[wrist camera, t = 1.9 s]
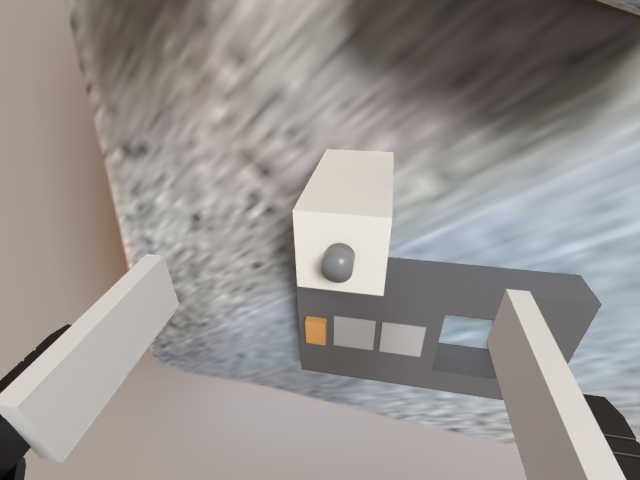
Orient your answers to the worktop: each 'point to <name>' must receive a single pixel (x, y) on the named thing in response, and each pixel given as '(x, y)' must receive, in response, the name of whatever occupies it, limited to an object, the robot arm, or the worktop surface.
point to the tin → (621, 6)
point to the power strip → (431, 323)
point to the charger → (345, 223)
